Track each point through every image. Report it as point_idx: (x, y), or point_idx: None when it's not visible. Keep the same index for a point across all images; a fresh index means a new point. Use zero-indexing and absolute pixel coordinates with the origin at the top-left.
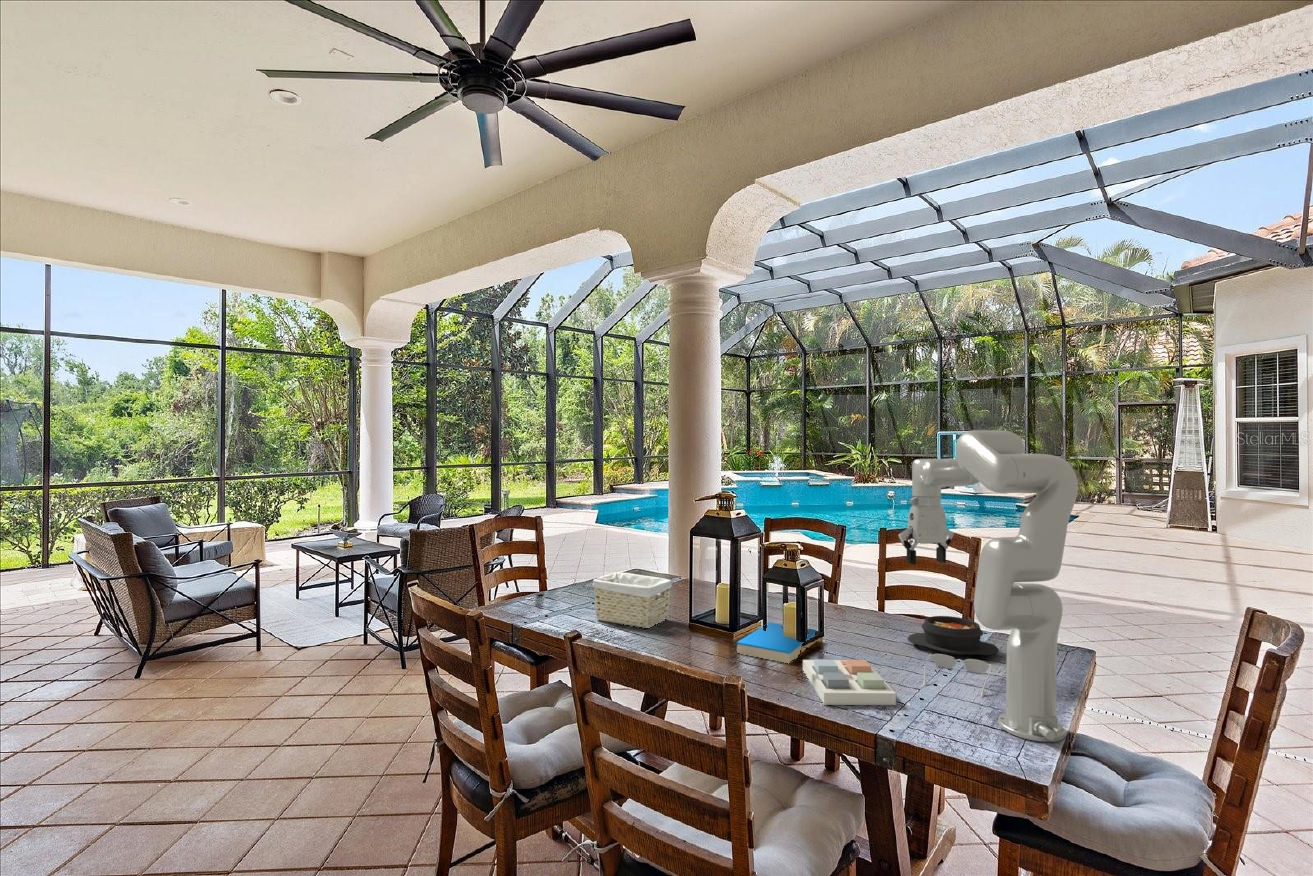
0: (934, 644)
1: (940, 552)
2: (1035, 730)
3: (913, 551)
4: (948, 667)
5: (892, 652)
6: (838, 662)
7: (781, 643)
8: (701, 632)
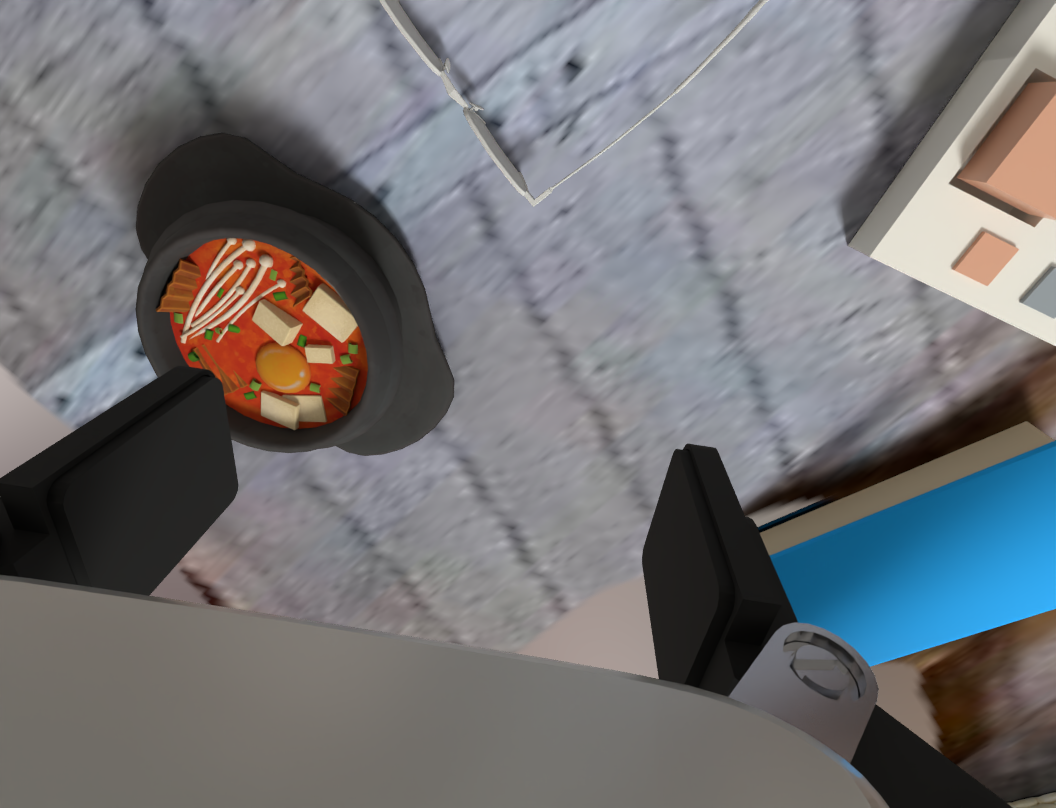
0: (399, 316)
1: (132, 511)
2: None
3: (766, 601)
4: (490, 133)
5: (561, 373)
6: (1000, 280)
7: (987, 526)
8: (973, 723)
